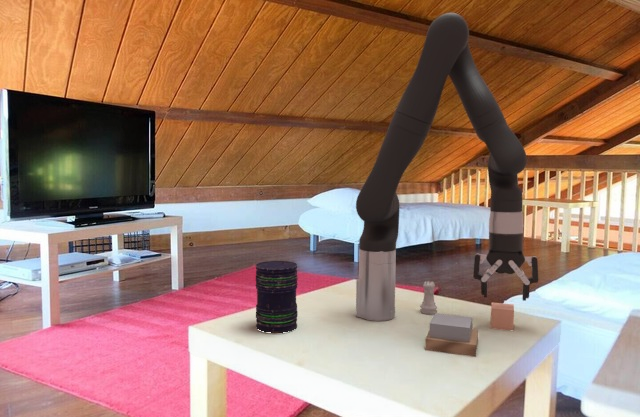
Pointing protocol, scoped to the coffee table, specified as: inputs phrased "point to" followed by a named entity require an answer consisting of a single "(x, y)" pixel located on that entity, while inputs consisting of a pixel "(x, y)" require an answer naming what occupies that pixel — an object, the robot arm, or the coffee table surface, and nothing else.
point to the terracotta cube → (502, 316)
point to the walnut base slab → (453, 345)
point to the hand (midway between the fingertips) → (504, 298)
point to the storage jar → (276, 296)
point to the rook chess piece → (428, 299)
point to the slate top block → (451, 327)
